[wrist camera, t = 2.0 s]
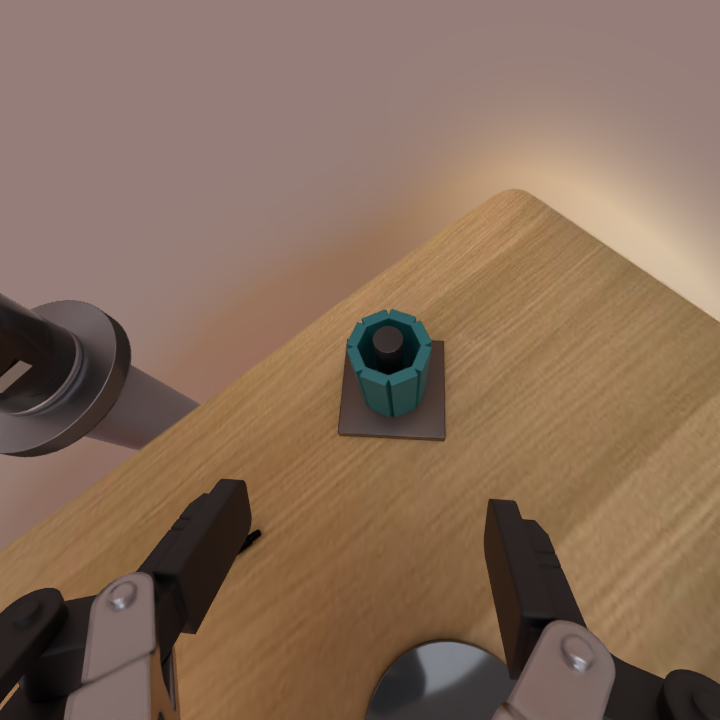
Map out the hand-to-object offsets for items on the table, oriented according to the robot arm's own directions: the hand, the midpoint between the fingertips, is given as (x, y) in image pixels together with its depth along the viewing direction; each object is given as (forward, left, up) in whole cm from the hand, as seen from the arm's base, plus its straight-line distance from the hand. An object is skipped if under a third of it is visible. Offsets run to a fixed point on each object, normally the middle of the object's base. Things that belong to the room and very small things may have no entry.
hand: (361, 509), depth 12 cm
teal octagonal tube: (-4, +10, -18) cm, 21 cm away
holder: (-4, +10, -19) cm, 22 cm away
